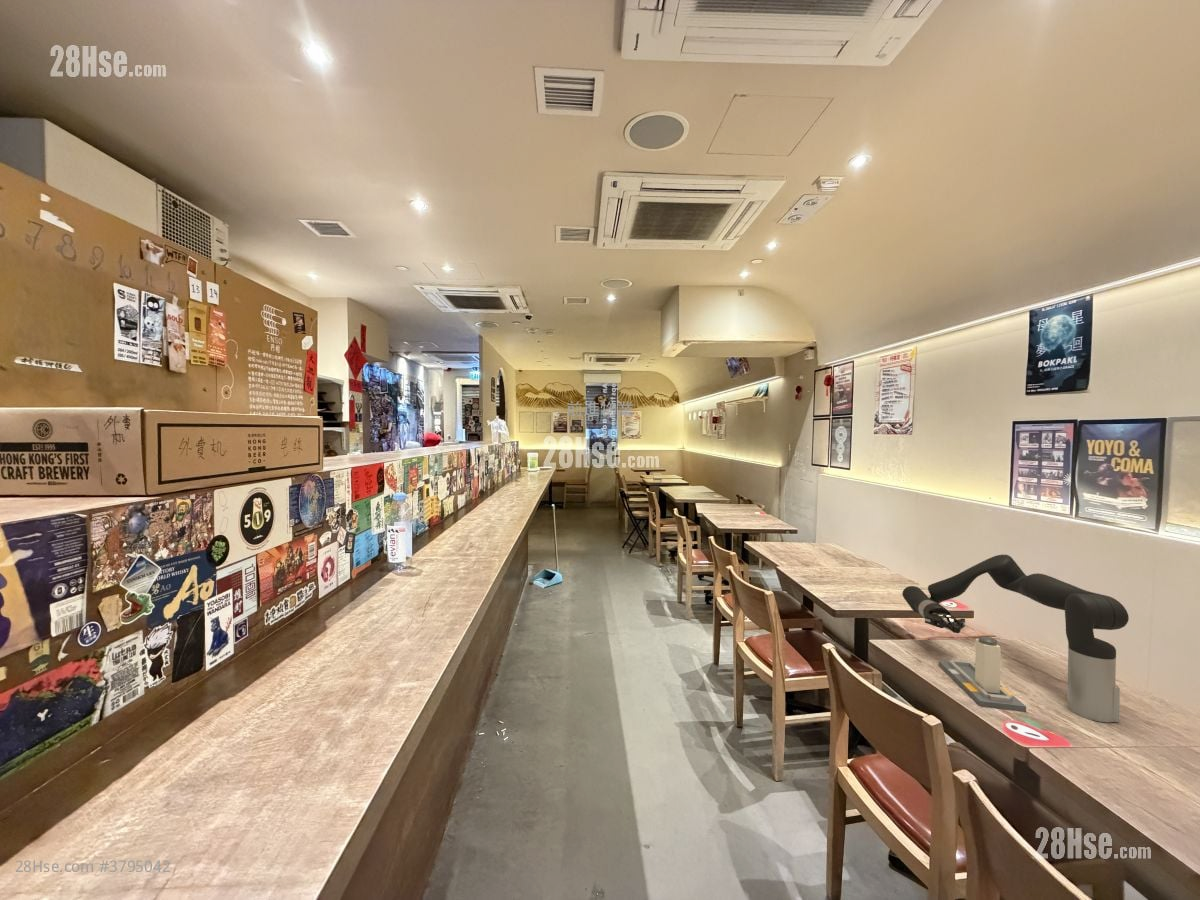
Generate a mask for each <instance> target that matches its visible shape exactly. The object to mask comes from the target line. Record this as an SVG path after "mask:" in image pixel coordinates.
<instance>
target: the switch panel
mask: <svg viewBox="0 0 1200 900" xmlns="http://www.w3.org/2000/svg"><path fill="white" fill-rule="evenodd" d="M938 666H939V667H940V668H941V669H942V670H943V671H944V672H945V673H946V674H947V675H948V676H949V677H950V678H951V679H952V680H953V681H954V682H955V683H957V685H958V686H959V687H960V688H961V689H962V690H963V691H964V692H966V694H967V695H969V696H970V698H971V699H972V700H973V701H974V702H975V703H976V704H977V705H978V706H979V707H982V708H991V709H998V710H1000V709H1001V710H1008V711H1016V712H1025V713H1026V712H1027V705H1025V704H1024V703H1023V702H1021V701H1020V700H1019V699H1018V698H1017V697H1016V696H1014V694H1013V693H1011V692H1010V691H1009V690H1008V689H1007V688H1005V687H1004V686H1003V685H1001V684H1000V694H999V693H990V692H986V691H985V690H983V689H982V688H981V687H980V686H979V685H978V684H977V683H976V682H975V663H973V662H971V661H968V660H962V659H948V660H947V661H946V660H938Z"/></svg>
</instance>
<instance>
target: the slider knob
mask: <svg viewBox="0 0 1200 900" xmlns="http://www.w3.org/2000/svg"><path fill="white" fill-rule="evenodd" d="M974 647H975V650H974V651H975V653H974V654H975V659H974V664H975V682H976V683H977V684H978V685H979V686H980V687H981V688H982V689H983V690H985V691H986V692H990V693H999V694H1000V685H1001V656H1002V655H1001V650H1002V649H1001V646H1000V645H998V640H997V639H996V638H993V637H989V636H984V635H981V636H978V637H977V638H975V646H974Z"/></svg>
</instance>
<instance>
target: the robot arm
mask: <svg viewBox="0 0 1200 900" xmlns="http://www.w3.org/2000/svg"><path fill="white" fill-rule="evenodd" d="M985 574H988V575H989V576H990V577H991V579H992V580H993V581H994V583H995V584H996V585H997V586H998V587H1000V588H1002V589H1003V590H1007V591H1011V592H1014V593H1017V594H1020V595H1022V596H1024V597H1027V598H1028V599H1030V600H1033V601H1034V602H1036V603H1038V604H1041V605H1044V606H1045V607H1048V608H1053V609H1056V610H1061V611H1064V619H1065V635H1066V638H1067V639H1066V640H1067V643H1068V645H1067V647H1068V648H1067V649H1068V650H1067V655H1068V656H1067V699H1066V701H1067V702H1066V703H1067V704H1066V705H1067V709H1068V710H1069V711H1070V712H1072V713H1074V714H1076V715H1078V716H1079V717H1082V718H1086V719H1087V720H1091V721H1096V722H1099V723H1120V700H1121V699H1120V698H1121V697H1120V694H1121V692H1120V691H1121V689H1120V688H1121V687H1120V686H1119V685H1117V683H1116V682H1117V681H1116V680H1117V679H1116V676H1117V675H1116V672H1117V671H1116V670H1117V669H1116V667H1117V666H1116V665H1117V663H1116V662H1117V649H1116V647H1115V646H1114V645H1113V644H1112V643H1109V642H1108V641H1105V640H1102V639H1100V638H1098V637H1095V633H1094V630H1102V631H1103V630H1105V631H1114V630H1119V629H1122V628H1124V627H1126V626H1127V624H1128V622H1129V618H1130V617H1129V613H1128V611H1127V609H1126V608H1125V606H1124V605H1123V604H1122V603H1121V602H1120V601H1118V600H1117V599H1115V598H1114V597H1112V596H1109V595H1106V594H1101V593H1096V592H1092V591H1089V590H1085V589H1083V588H1080V587H1078V586H1076V585H1072V584H1070V583H1068V582H1065V581H1062V580H1061V579H1058V578H1057V577H1056V578H1055V577H1053V576H1050V575H1048V574H1044V573H1037V572H1036V573H1031V574H1028V575H1027V574H1026V573H1025V572H1024V571H1023V570H1022V568H1021V567H1020V566H1019V565H1018V563H1017V562H1016V560H1014V559H1013V558H1012V556H1010V555H1008V554H998V555H994V556H992V557H989V558H987V559H984V560H983V561H981V562H978V563H977V564H975V565H972V566H971V567H969V568H966V569H965V570H963V571H961V572H960V573H957V574H955V575H952V576H951V577H948V578H946V579H942V580H940V581H937V582H934V583H931V584H928V586H927V591H928V593H929V595H930V597H928V596H927V594H926V593H925V592H924V591H923V590H922V589H921V588H919V587H918V586H913V585H909V586H906V587H905V588H903V590H902V597H903V598H904V599H903V600H904V601H905V602H906V603H907V604H908V605H909V607H910V608H911V610H912V611H913V612H914V613H916V614H920V615H921V616H922V618H924V624H927V625H931V626H933V627H936V628H940V629H945V630H949V631H950V632H952V633H954V634H960V633H961V631H962V630H963V629H964V628H965V627H966V619H965V618H958V619H957V617H955V616H953V615H952V614H951V612H950V611H949V610H948V609H947V608H945V607H944V606H943V605H941V604H940V603H942V602H945V601H948V600H951V599H954V598H958V597H960V596H961V595H963V594H964V593H965V592H967V591H966V590H967V589H968V588H969V587H970V586H971V584H972V583H973V582H974V581H975V580H976V579H977V578H978V577H980V576H982V575H985Z"/></svg>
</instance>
